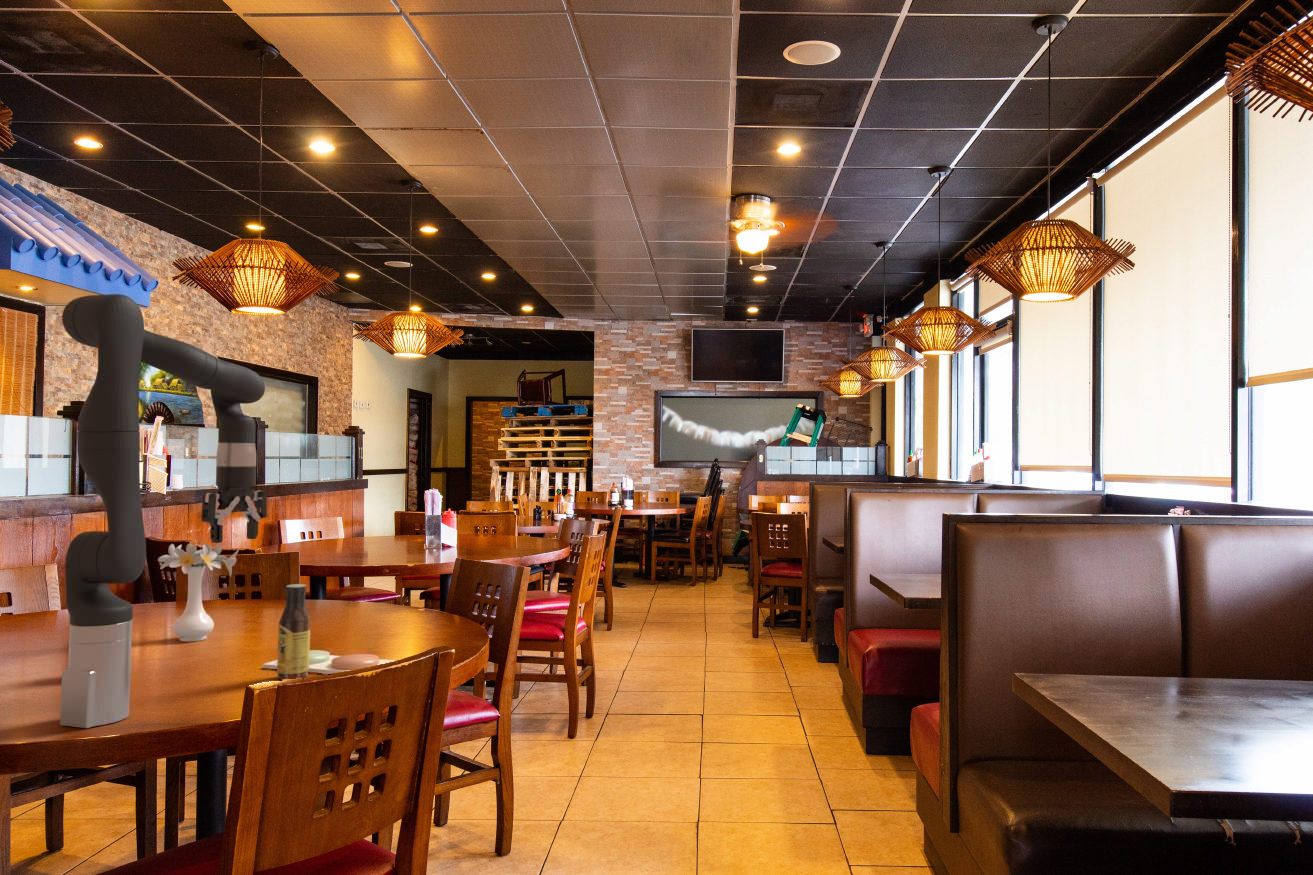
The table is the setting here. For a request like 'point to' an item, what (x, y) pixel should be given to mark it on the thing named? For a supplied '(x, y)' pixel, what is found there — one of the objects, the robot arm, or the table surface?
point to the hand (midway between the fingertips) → (234, 540)
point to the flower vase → (195, 587)
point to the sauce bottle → (294, 635)
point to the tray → (336, 662)
